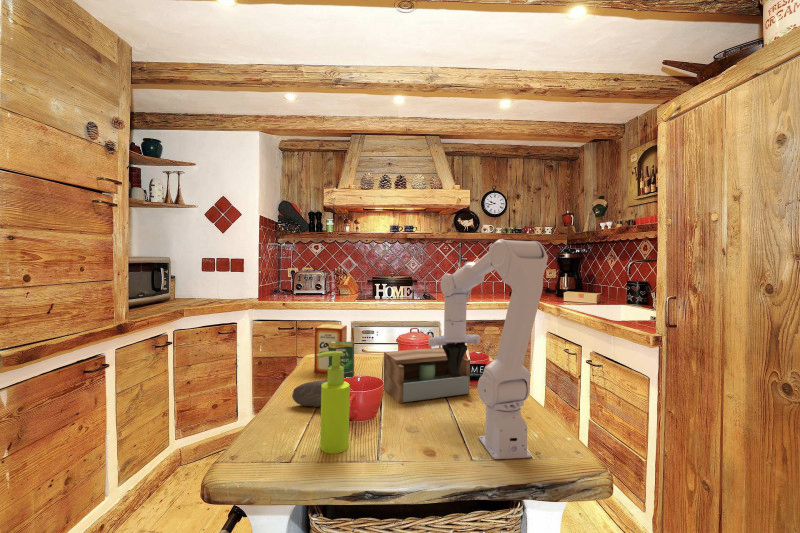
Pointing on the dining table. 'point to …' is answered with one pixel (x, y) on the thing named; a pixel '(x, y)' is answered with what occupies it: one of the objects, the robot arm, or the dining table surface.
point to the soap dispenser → (334, 407)
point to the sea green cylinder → (426, 371)
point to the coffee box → (348, 357)
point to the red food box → (327, 343)
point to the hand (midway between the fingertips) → (454, 371)
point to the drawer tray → (434, 387)
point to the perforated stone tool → (308, 393)
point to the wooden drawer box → (416, 368)
